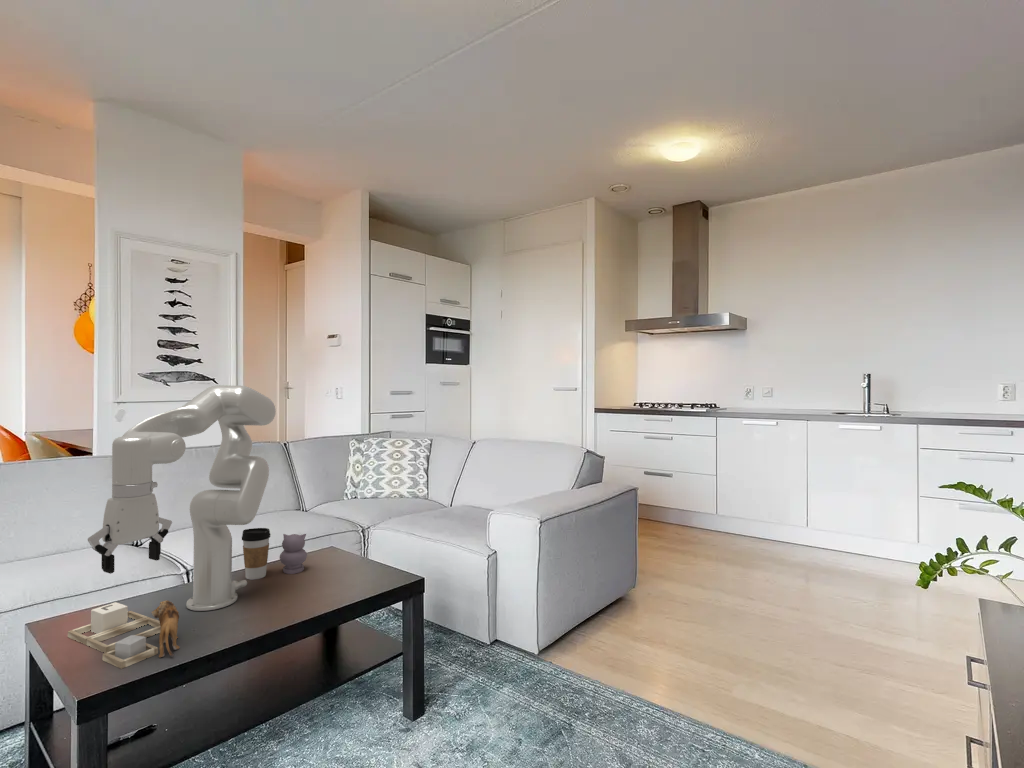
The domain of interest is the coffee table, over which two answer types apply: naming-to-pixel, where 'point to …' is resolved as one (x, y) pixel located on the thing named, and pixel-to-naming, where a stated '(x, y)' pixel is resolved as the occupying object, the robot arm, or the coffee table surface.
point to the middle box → (96, 641)
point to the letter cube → (108, 617)
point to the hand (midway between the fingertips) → (132, 565)
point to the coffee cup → (255, 552)
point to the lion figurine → (167, 625)
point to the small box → (121, 663)
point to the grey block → (130, 646)
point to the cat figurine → (293, 553)
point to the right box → (78, 636)
